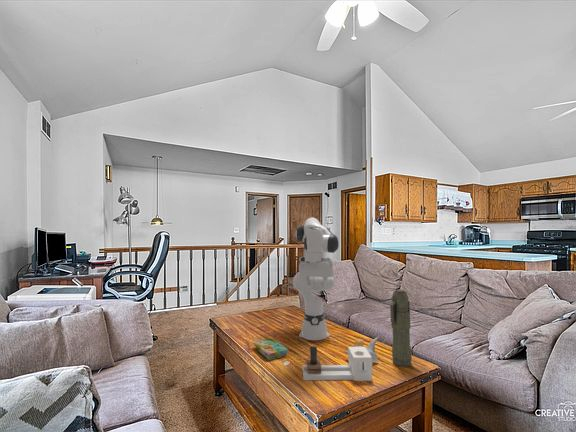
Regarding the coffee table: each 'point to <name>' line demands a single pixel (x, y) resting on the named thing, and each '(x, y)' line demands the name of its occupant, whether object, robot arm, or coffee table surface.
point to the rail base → (346, 368)
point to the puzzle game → (270, 348)
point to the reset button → (359, 342)
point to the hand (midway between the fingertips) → (316, 286)
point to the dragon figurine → (370, 350)
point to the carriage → (313, 361)
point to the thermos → (401, 329)
